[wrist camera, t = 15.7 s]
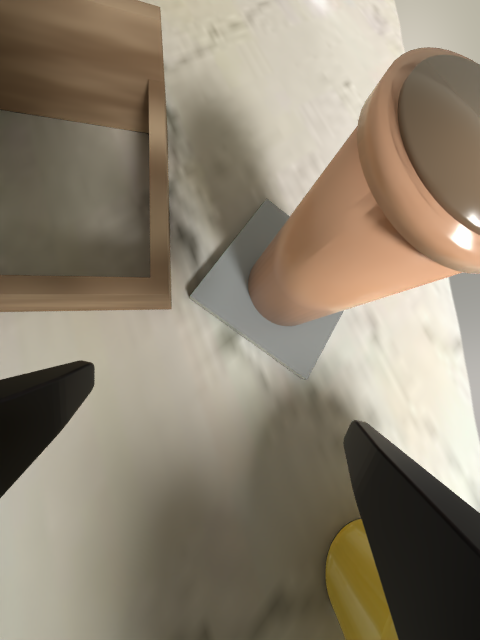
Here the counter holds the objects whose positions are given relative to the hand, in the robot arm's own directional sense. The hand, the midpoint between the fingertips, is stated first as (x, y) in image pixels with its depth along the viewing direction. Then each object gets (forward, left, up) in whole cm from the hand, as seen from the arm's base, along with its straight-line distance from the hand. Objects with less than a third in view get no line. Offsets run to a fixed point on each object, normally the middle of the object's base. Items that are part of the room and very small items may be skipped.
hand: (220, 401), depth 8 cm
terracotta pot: (+10, -1, -9) cm, 13 cm away
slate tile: (+10, -1, -9) cm, 14 cm away
